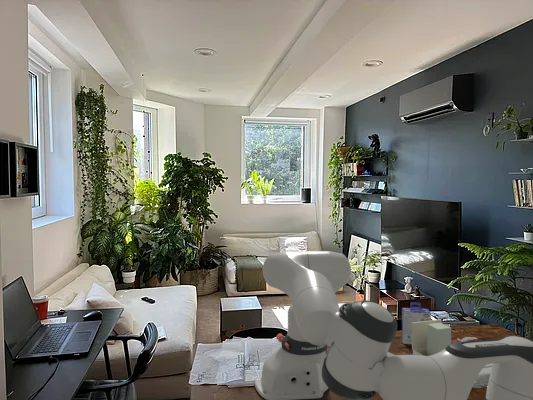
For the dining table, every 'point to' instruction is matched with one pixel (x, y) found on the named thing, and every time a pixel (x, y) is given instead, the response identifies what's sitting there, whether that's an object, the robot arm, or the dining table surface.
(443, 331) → the box
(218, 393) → the dining table surface
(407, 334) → the ink cartridge box
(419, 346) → the carton
